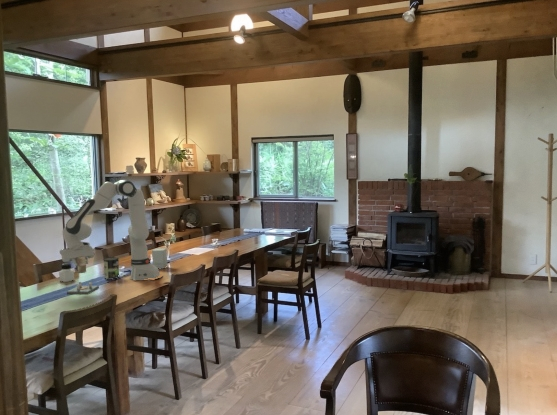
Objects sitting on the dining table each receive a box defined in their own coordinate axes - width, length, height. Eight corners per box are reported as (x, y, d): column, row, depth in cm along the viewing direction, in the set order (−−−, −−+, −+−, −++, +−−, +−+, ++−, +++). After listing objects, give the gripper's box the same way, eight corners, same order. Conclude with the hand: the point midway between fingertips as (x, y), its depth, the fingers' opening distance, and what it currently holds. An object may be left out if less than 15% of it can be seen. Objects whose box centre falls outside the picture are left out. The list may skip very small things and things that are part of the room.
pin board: (98, 288, 309) (98, 280, 309) (87, 294, 295) (87, 286, 295) (78, 287, 311) (78, 280, 310) (67, 293, 297) (66, 285, 296)
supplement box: (167, 266, 369) (167, 248, 368) (163, 269, 360) (163, 250, 359) (156, 266, 370) (155, 248, 369) (152, 269, 361) (151, 250, 360)
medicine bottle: (74, 280, 332) (73, 263, 331) (65, 282, 326) (64, 265, 325) (68, 278, 336) (67, 262, 334) (59, 281, 330) (58, 264, 328)
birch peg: (87, 271, 304) (86, 256, 303) (83, 273, 299) (82, 257, 298) (80, 271, 305) (79, 256, 304) (76, 273, 300) (75, 257, 299)
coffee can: (122, 276, 340) (121, 257, 339) (114, 279, 330) (113, 260, 329) (109, 275, 342) (108, 257, 341) (101, 279, 332) (100, 259, 331)
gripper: (59, 246, 298) (66, 263, 292) (91, 242, 312) (98, 258, 306) (57, 252, 301) (64, 269, 295) (89, 248, 316) (96, 264, 310)
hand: (82, 264), depth 301 cm, fingers closed on birch peg, 5 cm apart
